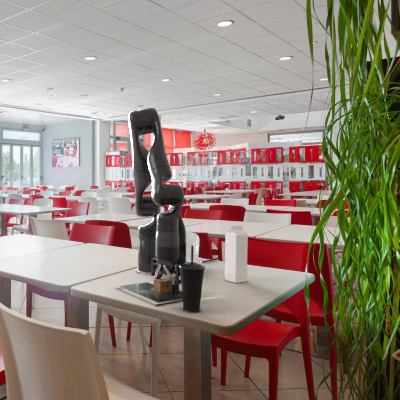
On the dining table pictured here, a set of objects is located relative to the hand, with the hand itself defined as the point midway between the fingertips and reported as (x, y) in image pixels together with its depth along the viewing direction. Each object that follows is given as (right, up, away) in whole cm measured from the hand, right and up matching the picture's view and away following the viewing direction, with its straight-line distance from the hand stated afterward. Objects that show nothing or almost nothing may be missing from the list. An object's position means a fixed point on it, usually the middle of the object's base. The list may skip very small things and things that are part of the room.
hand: (166, 292), depth 140 cm
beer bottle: (+17, 0, +62) cm, 64 cm away
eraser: (0, -2, 0) cm, 2 cm away
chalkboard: (-4, -2, +7) cm, 8 cm away
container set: (+19, -1, +39) cm, 44 cm away
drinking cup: (+6, -3, -10) cm, 12 cm away
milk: (+33, -1, +27) cm, 43 cm away
